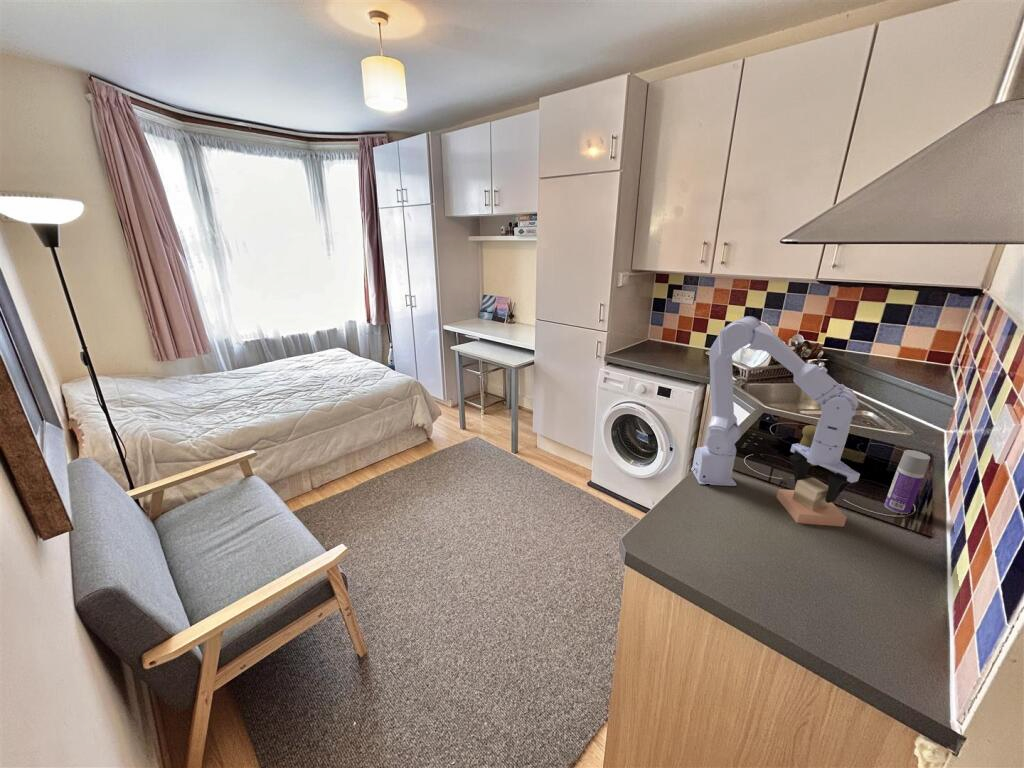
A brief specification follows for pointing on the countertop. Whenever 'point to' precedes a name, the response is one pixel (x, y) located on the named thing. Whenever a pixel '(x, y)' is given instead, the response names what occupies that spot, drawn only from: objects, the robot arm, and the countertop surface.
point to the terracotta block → (810, 511)
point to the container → (907, 481)
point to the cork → (808, 436)
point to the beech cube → (811, 493)
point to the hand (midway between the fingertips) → (813, 492)
